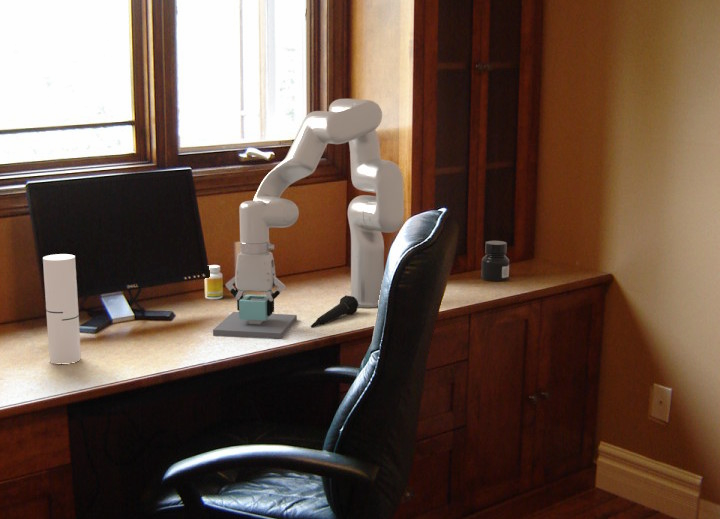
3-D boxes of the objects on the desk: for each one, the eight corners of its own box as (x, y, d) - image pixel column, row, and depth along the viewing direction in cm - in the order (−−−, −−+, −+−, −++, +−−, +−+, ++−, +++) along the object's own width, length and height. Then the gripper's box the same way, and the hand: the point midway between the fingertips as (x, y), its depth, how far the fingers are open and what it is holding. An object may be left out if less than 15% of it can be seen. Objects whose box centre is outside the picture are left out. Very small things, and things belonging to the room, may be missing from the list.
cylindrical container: (53, 356, 232) (46, 254, 227) (83, 355, 233) (77, 253, 227) (46, 365, 225) (39, 260, 220) (77, 364, 226) (71, 260, 220)
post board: (296, 320, 264) (296, 293, 262) (280, 338, 247) (280, 310, 245) (233, 317, 267) (232, 290, 265) (213, 335, 249) (212, 307, 248)
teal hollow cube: (272, 313, 259) (271, 295, 258) (265, 320, 252) (264, 302, 251) (246, 312, 260) (246, 294, 259) (239, 319, 253) (238, 300, 252)
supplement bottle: (201, 297, 288) (200, 265, 286) (217, 294, 292) (216, 263, 290) (210, 300, 284) (210, 269, 282) (226, 298, 288) (225, 266, 286)
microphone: (317, 339, 257) (360, 314, 272) (321, 321, 254) (363, 297, 270) (301, 331, 259) (344, 306, 275) (305, 313, 257) (348, 289, 272)
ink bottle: (510, 282, 309) (511, 245, 306) (482, 282, 309) (484, 245, 306) (506, 275, 318) (507, 239, 316) (479, 275, 318) (480, 239, 316)
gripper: (290, 246, 254) (291, 311, 258) (226, 244, 257) (228, 308, 261) (283, 252, 247) (284, 319, 251) (218, 249, 250) (219, 316, 254)
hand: (255, 313), depth 256 cm, fingers closed on teal hollow cube, 7 cm apart
